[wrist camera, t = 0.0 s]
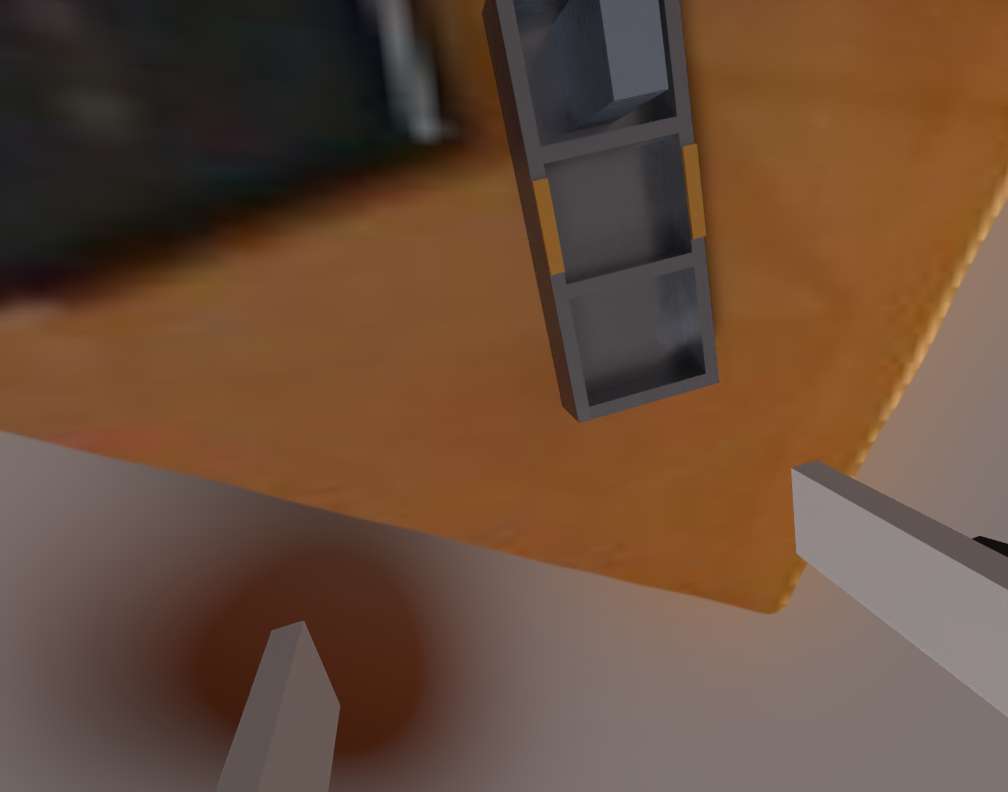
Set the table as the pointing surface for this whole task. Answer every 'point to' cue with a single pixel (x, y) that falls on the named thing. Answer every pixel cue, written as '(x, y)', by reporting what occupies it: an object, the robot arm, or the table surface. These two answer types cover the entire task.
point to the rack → (608, 194)
